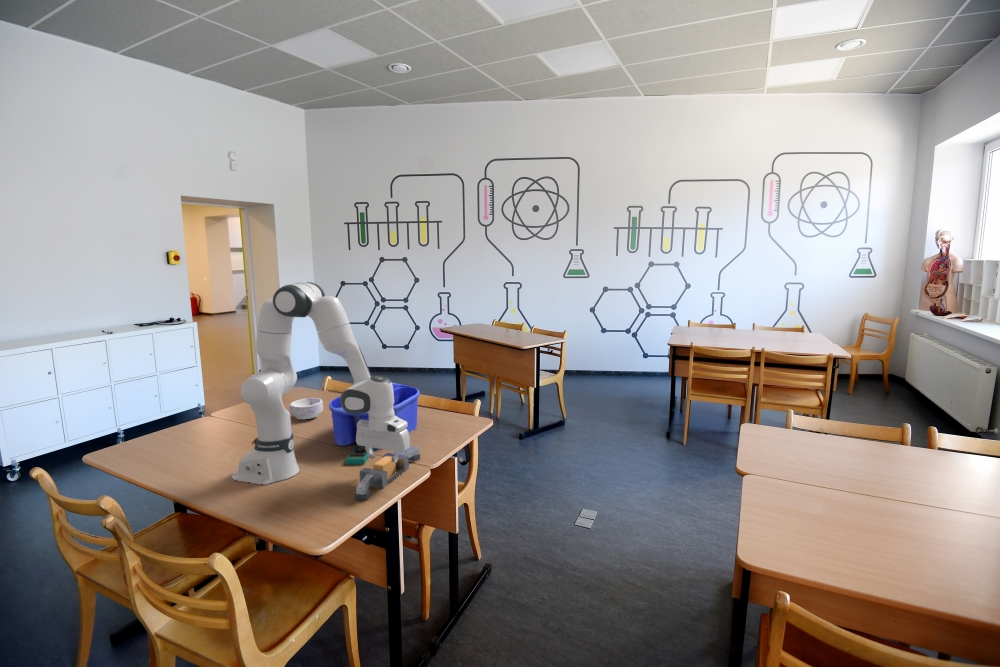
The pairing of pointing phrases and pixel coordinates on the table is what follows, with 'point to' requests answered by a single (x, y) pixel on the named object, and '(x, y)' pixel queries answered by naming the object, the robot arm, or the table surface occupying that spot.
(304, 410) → the paper bowls
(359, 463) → the digital multimeter
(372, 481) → the grey long piece
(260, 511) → the table surface
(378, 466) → the light orange rectangular block
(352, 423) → the caddy
